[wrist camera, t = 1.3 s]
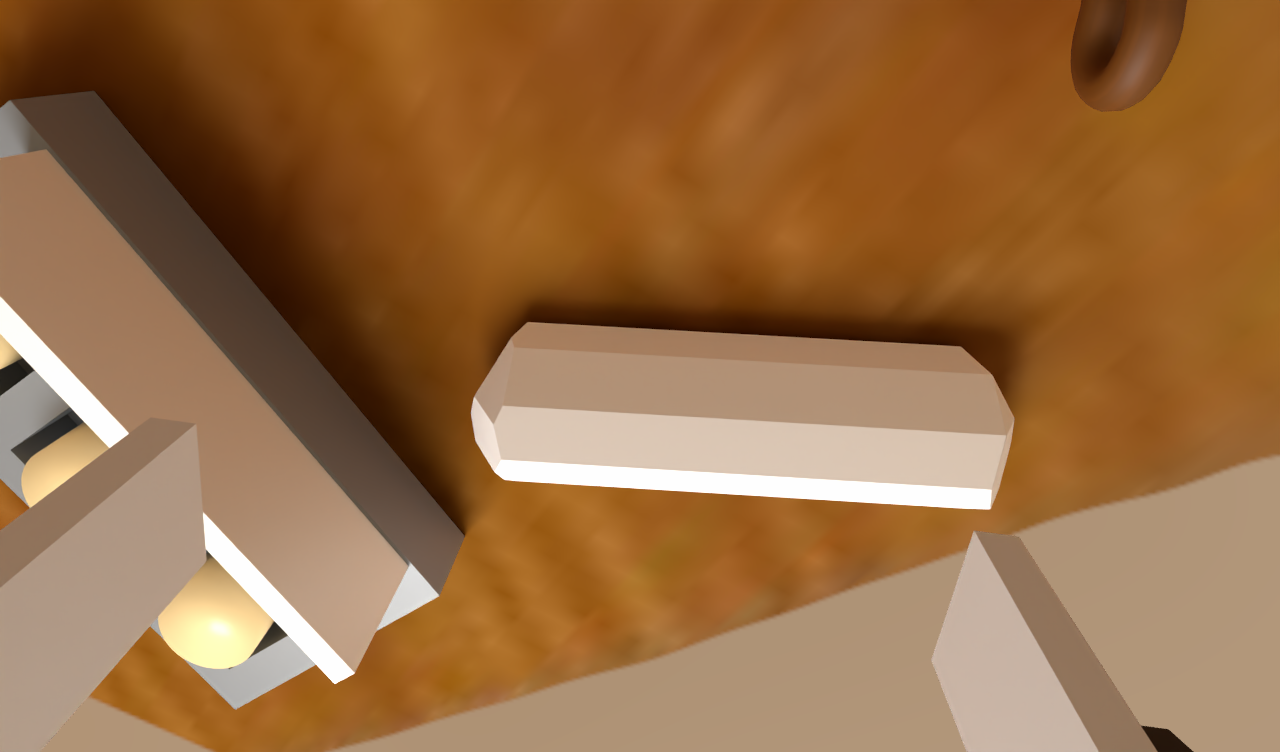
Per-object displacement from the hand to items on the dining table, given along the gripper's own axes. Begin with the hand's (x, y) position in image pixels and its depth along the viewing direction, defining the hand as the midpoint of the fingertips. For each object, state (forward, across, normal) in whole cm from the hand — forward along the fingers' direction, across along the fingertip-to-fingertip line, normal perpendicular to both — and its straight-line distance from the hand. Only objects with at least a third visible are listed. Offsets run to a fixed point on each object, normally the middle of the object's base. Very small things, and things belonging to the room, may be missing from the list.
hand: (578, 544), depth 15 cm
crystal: (+26, +6, -8) cm, 27 cm away
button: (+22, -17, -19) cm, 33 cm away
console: (+25, -20, -12) cm, 34 cm away
